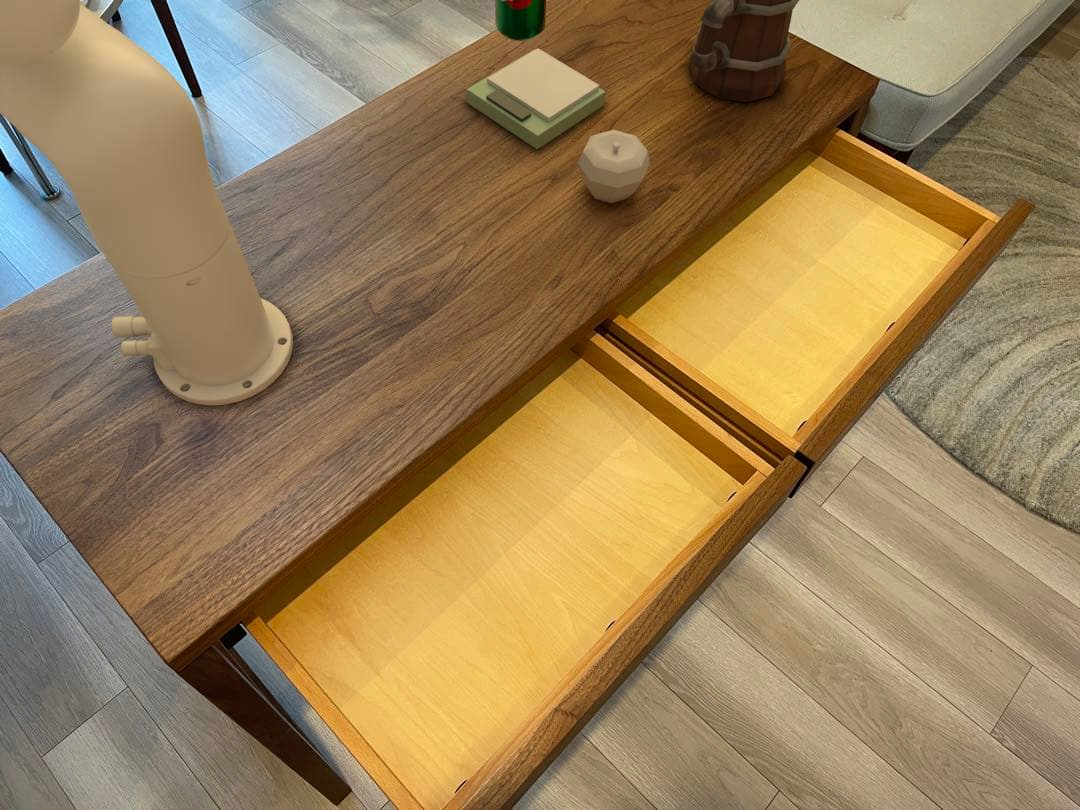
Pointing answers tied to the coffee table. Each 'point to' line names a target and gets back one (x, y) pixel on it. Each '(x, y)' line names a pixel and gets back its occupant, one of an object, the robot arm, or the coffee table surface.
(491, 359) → the coffee table surface
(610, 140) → the white apple
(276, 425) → the coffee table surface
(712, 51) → the mug
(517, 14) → the soda can
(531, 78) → the scale
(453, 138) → the coffee table surface
